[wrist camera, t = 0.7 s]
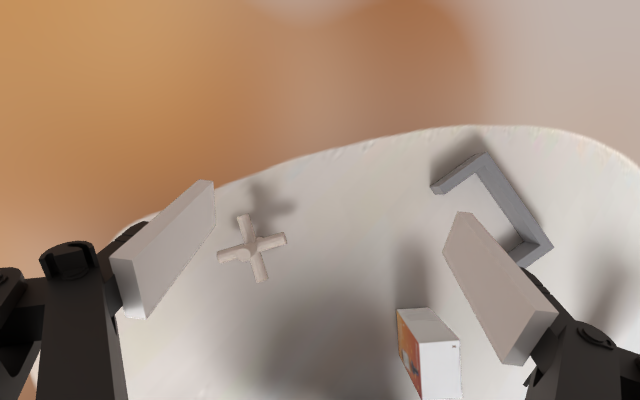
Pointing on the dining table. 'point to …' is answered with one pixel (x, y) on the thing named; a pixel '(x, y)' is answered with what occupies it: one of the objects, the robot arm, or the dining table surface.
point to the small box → (429, 354)
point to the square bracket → (502, 205)
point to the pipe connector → (251, 248)
